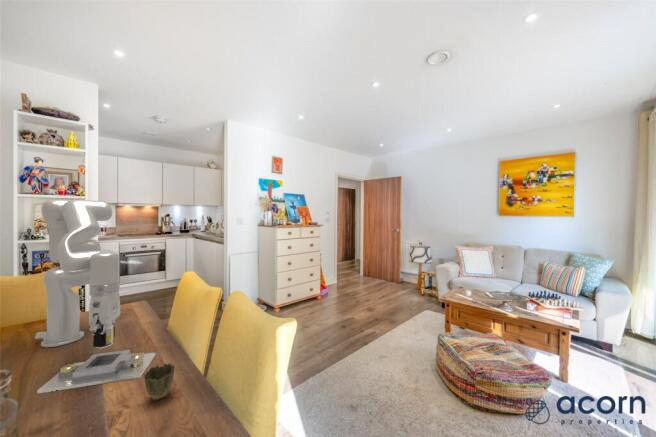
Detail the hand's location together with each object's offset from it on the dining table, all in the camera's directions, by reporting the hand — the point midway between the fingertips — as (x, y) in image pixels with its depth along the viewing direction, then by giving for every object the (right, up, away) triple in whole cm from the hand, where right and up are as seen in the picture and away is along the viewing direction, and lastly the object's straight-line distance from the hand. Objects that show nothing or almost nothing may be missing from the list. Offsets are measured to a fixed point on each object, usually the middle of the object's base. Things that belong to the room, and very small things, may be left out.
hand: (104, 341), depth 84 cm
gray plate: (0, -11, 0) cm, 11 cm away
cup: (+26, -11, -11) cm, 31 cm away
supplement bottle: (0, -2, 0) cm, 2 cm away
